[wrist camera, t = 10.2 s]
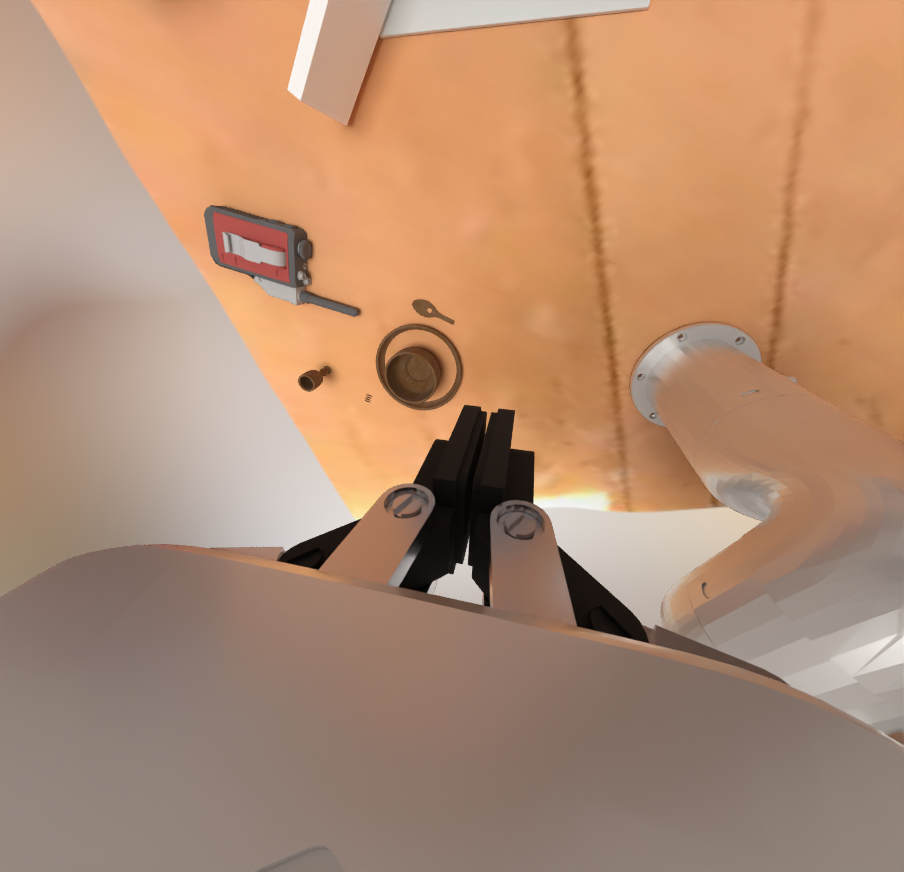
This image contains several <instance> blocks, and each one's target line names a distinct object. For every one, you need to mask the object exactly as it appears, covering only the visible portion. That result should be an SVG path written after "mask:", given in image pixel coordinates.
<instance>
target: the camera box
mask: <svg viewBox="0 0 904 872" xmlns="http://www.w3.org/2000/svg"><path fill="white" fill-rule="evenodd" d="M649 3H650V0H391V2H390V5H389V8H388V11H387V14H386V17H385V19H384V22H383V25H382V28H381V31H380V34H379V35H380V37H381V39H382V38H391V37H400V36H409V35H419V34H428V33H437V32H446V31H456V30H465V29H474V28H483V27H492V26H502V25H511V24H520V23H529V22H539V21H548V20H557V19H566V18H576V17H585V16H594V15H603V14H613V13H622V12H631V11H640V10H647V9H648V7H649Z"/></svg>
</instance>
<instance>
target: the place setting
mask: <svg viewBox="0 0 904 872" xmlns="http://www.w3.org/2000/svg"><path fill="white" fill-rule="evenodd" d="M412 305H413V307H414V309H415V310H416V311H417V312H418V313H419V314H420V315H422V316H424V317H438V318H440V319H443V320H445V321H447V322H449V323H451V324H454V322H455V321H454V320H452V319H450V318H448V317H445V316H443V315H442V314H440V313H439V312H438V311H437V310H436V308H435V307H434V306H433V305H432V304H431V303H429V302H428V301H425V300H415V301H413V303H412ZM428 308H431V309H432V312H431V313H428V312H427V309H428ZM413 329H419V330H425V331H428V332H431V333H433V334H435V335H437V336H438V337H440V338H441V339H442V340H443V341H444V342H445V343H446V344H447V345H448V346H449V348H450V349H451V351H452V353H453V355H454V358H455V361H456V366H457V373H456V379H455V382H454V385H453V386H452V388H451V390H450V391H449V392H448V393H447V394H446V395H445V396H443V397H442V398H440V399H438V400H435V401H430V402H424V401H426V400H428V399H429V398H430V397H431V396H432V395H433V393H434V392H435V390H436V389H437V387H438V385H439V382H440V375H441V374H440V367H439V365H438V362H437V361H436V359H435V358H434V357H433V356H432V355H431V354H430V353H429V352H428V351H426V350H424V349H421V348H417V347H409V348H405V349H403V350H401V351H399V352H397V353H396V354H395V355H394V356H393V357H391V358H390V360H389V361H388V362H387V364H386V367H385V353H386V350H387V347H388V345H389V344H390V342H391V341H392V339H393V338H395V337H396V336H397V335H398V334H400V333H402V332H404V331H407V330H413ZM376 368H377V373H378V377H379V379H380V381H381V383H382V385H383V387H384V388H385V390H386V391H387V392H388V393H389V395H390V396H391V397H393V398H394V399H395V400H396V401H398V402H399V403H401V404H402V405H404V406H407V407H409V408H412V409H417V410H431V409H436V408H438V407H441V406H443V405H444V404H446V403H447V402H448V401H449V400H451V399H452V397H453V396H454V395H455V393H456V391H457V389H458V387H459V384H460V380H461V364H460V359H459V356H458V354H457V352H456V350H455V348H454V346H453V345H452V344H451V342H450V341H449V340H448V339H447V338H446V337H445V336H444V335H442V334H441V333H440V332H438V331H436V330H435V329H433V328H430V327H427V326H424V325H417V324H411V325H405V326H401V327H399V328H397V329H394V330H393V331H391V332H390V333H389V334H388V335H387V336H386V337H385V338H384V339H383V340H382V342H381V344H380V345H379V348H378V351H377V355H376ZM330 372H331V369H330V368H329V367H328V366H325V367H324V369H321V370H320V371H316V370H310V371H308V372H306V373H304V374H302V375H301V376H300V377H299V378H298V383H299V385H300V387H301V388H302V389H303V390H305V391H308V392H310V391H313V390H314V389H316V388H317V387H318V386H320V385H321V383H322V381H323V377H322V376H326V375H327V373H330ZM366 395H367V394H366ZM368 396H371V395H368ZM366 397H367V396H366ZM371 397H372V396H371ZM368 398H370V397H368ZM365 399H366V398H365ZM367 400H370V399H367ZM365 401H366V400H365ZM370 401H371V400H370ZM367 402H369V401H367Z"/></svg>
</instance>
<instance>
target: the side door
mask: <svg viewBox="0 0 904 872" xmlns="http://www.w3.org/2000/svg"><path fill="white" fill-rule="evenodd" d="M390 2H391V0H310V3H309V7H308V11H307V15H306V18H305V22H304V26H303V30H302V34H301V38H300V42H299V46H298V50H297V54H296V58H295V62H294V66H293V70H292V74H291V77H290V81H289V85H288V89H287V90H289V91H290V92H291V93H292V94H293V95H294V96H296V97H297V98H298V99H299V100H300V101H302V102H304V103H305V104H307V105H309V106H311V107H313V108H314V109H316V110H318V111H320V112H322V113H323V114H325V115H327V116H329V117H330V118H332V119H334V120H336V121H338V122H339V123H341V124H343V125H345V126H347V124H348V121H349V119H350V116H351V113H352V110H353V107H354V104H355V102H356V99H357V96H358V93H359V90H360V87H361V85H362V82H363V79H364V76H365V73H366V70H367V68H368V65H369V62H370V59H371V56H372V53H373V51H374V48H375V45H376V42H377V39H378V36H379V34H380V31H381V28H382V25H383V22H384V19H385V17H386V14H387V11H388V8H389V5H390Z"/></svg>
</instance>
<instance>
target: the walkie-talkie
mask: <svg viewBox="0 0 904 872" xmlns="http://www.w3.org/2000/svg"><path fill="white" fill-rule="evenodd" d="M204 217H205V223H206V229H207V235H208V241H209V248H210V253H211V256H212V258H213V260H214V261H215V263H216V264H218V265H219V266H222V267H225V268H228V269H231V270H234V271H238V272H241V273H244V274H247V275H249V276H250V277H252V278H253V279H255V282H257V283H258V284H259V285H260V286H261V287H262V288H263V290H264V291H265V292H266V293H267V294H268V295H269V296H272V297H276V298H279V299H282V300H285V301H288V302H291V303H292V304H294V305H301V304H304V303H308V304H310V303H312V304H315V305H318V306H321V307H325V308H328V309H331V310H334V311H338V312H341V313H344V314H347V315H351V316H354V317H355V316H357V315H358V310H357V309H356V308H352V307H349V306H346V305H343V304H340V303H336V302H333V301H330V300H327V299H323V298H320V297H317V296H314V295H312V294H310V293H308V292H305V285H310V284H311V279H310V278H308V277H307V259H309V258H310V256H311V253H312V248H311V245H310V243H309V242H308V241H307V233H306V232H305V231H304V229H301V228H297V226H293V225H290V224H284V223H281V222H280V221H276V220H269V219H267V218H263V217H259V216H255V215H251V214H249V213H246V212H243V211H239V210H235V209H231V208H228V207H225V206H213V205H211V206H209V207H208V208H207V209H206V210H205V213H204Z"/></svg>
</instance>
